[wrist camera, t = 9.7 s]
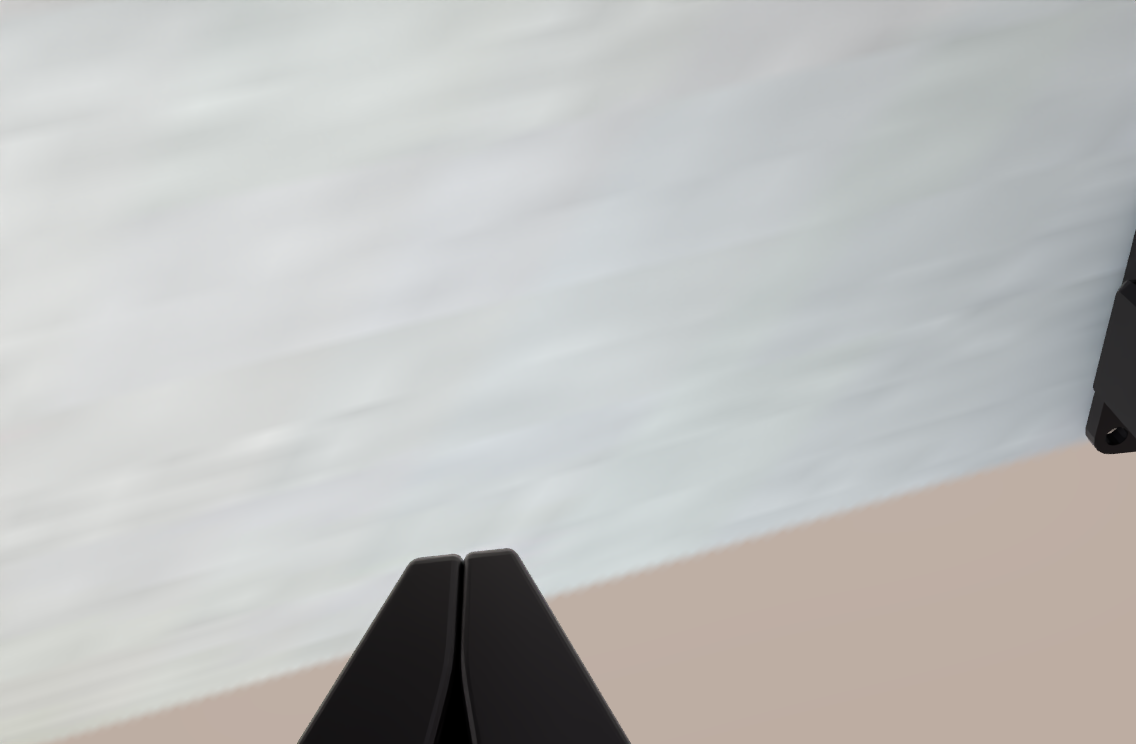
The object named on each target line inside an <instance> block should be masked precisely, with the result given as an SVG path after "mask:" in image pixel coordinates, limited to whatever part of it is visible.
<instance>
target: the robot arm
mask: <svg viewBox="0 0 1136 744" xmlns="http://www.w3.org/2000/svg"><path fill="white" fill-rule="evenodd" d="M1093 388H1094V391H1095V393H1094V397H1093V401H1092V405H1091V409H1090V413H1089V417H1088V421H1087V425H1086V436H1087V437H1088V439H1089V440H1090V442H1091V443H1092V444H1093V445H1094V447H1095V448H1096V449H1097V450H1098V451H1100V452H1102V453H1104V454H1117V453H1127V452H1136V231H1135V235H1134V239H1133V243H1132V247H1131V251H1130V255H1129V259H1128V263H1127V267H1126V271H1125V275H1124V279H1123V282H1122V285H1121V287H1120V288H1119V290H1118V291H1117V293H1116V296H1115V300H1114V304H1113V308H1112V312H1111V316H1110V320H1109V324H1108V328H1107V332H1106V336H1105V340H1104V344H1103V348H1102V352H1101V356H1100V360H1099V364H1098V368H1097V372H1096V376H1095V380H1094V384H1093ZM1114 428H1117V429H1116V430H1114V431H1113V432H1112V433H1109V434H1107V433H1108V432H1110V431H1111V430H1112V429H1114ZM297 744H631V743H630V741H629V740H628V738H627V736H626V735H625V733H624V731H623V729H622V728H621V726H620V725H619V723H618V721H617V719H616V718H615V716H614V714H613V713H612V711H611V709H610V708H609V706H608V705H607V703H606V701H605V699H604V698H603V696H602V695H601V693H600V691H599V689H598V688H597V686H596V684H595V683H594V681H593V679H592V678H591V676H590V674H589V673H588V671H587V669H586V667H585V666H584V664H583V663H582V661H581V659H580V658H579V656H578V654H577V653H576V651H575V649H574V648H573V646H572V644H571V643H570V641H569V639H568V637H567V636H566V634H565V632H564V631H563V629H562V627H561V626H560V624H559V622H558V621H557V619H556V617H555V616H554V614H553V612H552V611H551V609H550V607H549V606H548V604H547V602H546V601H545V599H544V597H543V595H542V594H541V592H540V590H539V589H538V587H537V585H536V584H535V582H534V580H533V579H532V577H531V575H530V574H529V572H528V570H527V569H526V567H525V565H524V564H523V562H522V560H521V559H520V557H519V555H518V554H517V553H516V552H515V551H514V550H512V549H509V548H505V549H496V550H486V551H477V552H471V553H469V554H468V555H466V557H465V559H464V560H463V559H462V558H461V557H460V556H459V555H457V554H449V555H440V556H431V557H421V558H416V559H414V560H413V561H411V562H410V563H409V564H408V566H407V567H406V569H405V571H404V572H403V574H402V575H401V577H400V579H399V580H398V582H397V583H396V585H395V587H394V588H393V590H392V591H391V593H390V595H389V596H388V598H387V600H386V601H385V603H384V604H383V606H382V608H381V609H380V611H379V612H378V614H377V616H376V617H375V619H374V620H373V622H372V624H371V625H370V627H369V628H368V630H367V632H366V633H365V635H364V636H363V638H362V640H361V641H360V643H359V645H358V646H357V648H356V649H355V651H354V653H353V654H352V656H351V657H350V659H349V661H348V662H347V664H346V665H345V667H344V669H343V670H342V672H341V674H340V675H339V677H338V678H337V680H336V682H335V683H334V685H333V686H332V688H331V690H330V691H329V693H328V694H327V696H326V698H325V699H324V701H323V702H322V704H321V706H320V707H319V709H318V710H317V712H316V714H315V715H314V717H313V718H312V720H311V722H310V723H309V725H308V727H307V728H306V730H305V732H304V733H303V735H302V736H301V738H300V739H299V741H298V743H297Z"/></svg>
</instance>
